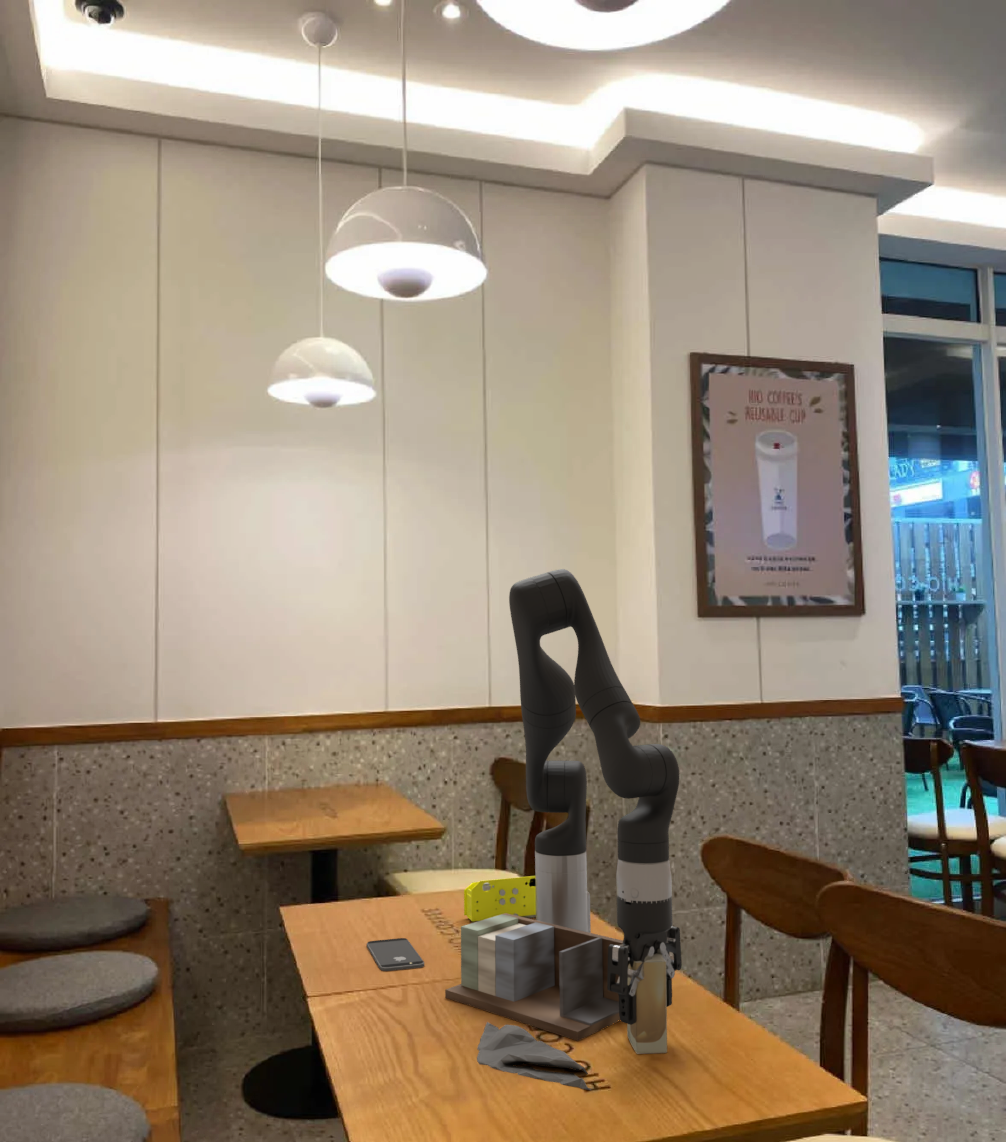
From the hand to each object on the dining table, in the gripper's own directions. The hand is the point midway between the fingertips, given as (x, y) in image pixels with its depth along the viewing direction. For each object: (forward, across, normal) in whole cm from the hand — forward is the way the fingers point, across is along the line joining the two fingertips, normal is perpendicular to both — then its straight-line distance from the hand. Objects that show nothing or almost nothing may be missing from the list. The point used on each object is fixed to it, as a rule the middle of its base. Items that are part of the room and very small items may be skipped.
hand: (646, 1013), depth 137 cm
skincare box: (+4, 0, 0) cm, 4 cm away
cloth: (+5, +13, -10) cm, 17 cm away
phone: (+5, -4, -56) cm, 56 cm away
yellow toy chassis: (+4, -35, -58) cm, 68 cm away
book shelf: (+4, -2, -21) cm, 21 cm away
